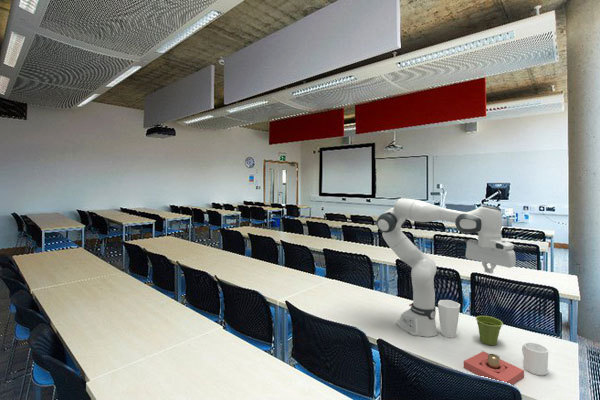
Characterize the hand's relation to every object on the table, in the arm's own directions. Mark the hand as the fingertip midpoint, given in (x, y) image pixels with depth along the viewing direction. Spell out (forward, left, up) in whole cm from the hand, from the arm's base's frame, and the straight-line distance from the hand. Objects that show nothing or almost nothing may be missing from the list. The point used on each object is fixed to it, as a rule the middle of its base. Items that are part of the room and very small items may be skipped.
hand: (488, 272), depth 139 cm
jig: (+6, -6, -41) cm, 42 cm away
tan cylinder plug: (+6, -6, -41) cm, 42 cm away
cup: (-24, +8, -41) cm, 48 cm away
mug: (+13, +12, -41) cm, 45 cm away
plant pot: (-9, +18, -41) cm, 46 cm away
